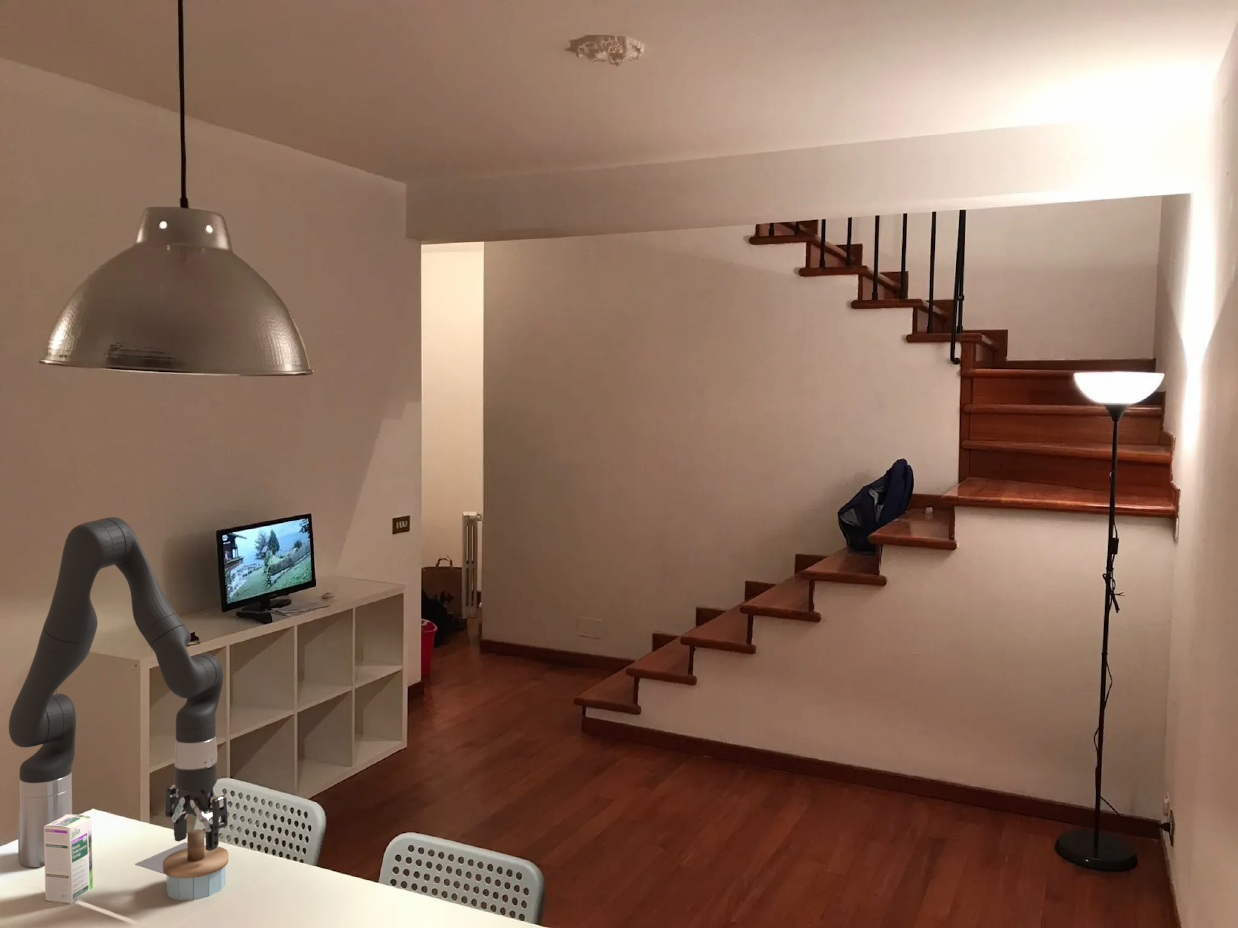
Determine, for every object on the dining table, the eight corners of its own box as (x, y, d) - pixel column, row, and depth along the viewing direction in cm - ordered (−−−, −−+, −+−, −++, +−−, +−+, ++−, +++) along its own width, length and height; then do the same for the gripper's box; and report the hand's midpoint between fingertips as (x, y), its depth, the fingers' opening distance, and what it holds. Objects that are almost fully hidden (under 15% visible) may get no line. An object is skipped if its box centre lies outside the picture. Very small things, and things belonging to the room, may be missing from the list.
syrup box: (71, 904, 186) (70, 827, 185) (43, 900, 187) (43, 824, 186) (93, 890, 191) (92, 815, 191) (66, 887, 192) (65, 812, 192)
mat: (134, 866, 201) (134, 863, 201) (184, 844, 212) (184, 841, 212) (175, 879, 196) (175, 876, 196) (225, 856, 207) (225, 853, 207)
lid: (149, 874, 189) (148, 837, 189) (200, 851, 200) (199, 816, 199) (191, 888, 184) (191, 849, 184) (241, 864, 194) (241, 827, 194)
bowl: (155, 894, 190) (155, 868, 190) (199, 873, 199) (199, 849, 199) (192, 907, 185) (192, 880, 185) (236, 885, 194) (236, 859, 194)
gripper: (153, 760, 191) (153, 844, 191) (205, 773, 184) (206, 859, 185) (186, 749, 197) (186, 830, 198) (238, 761, 191) (238, 844, 192)
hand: (196, 844), depth 192 cm, fingers open, 8 cm apart
